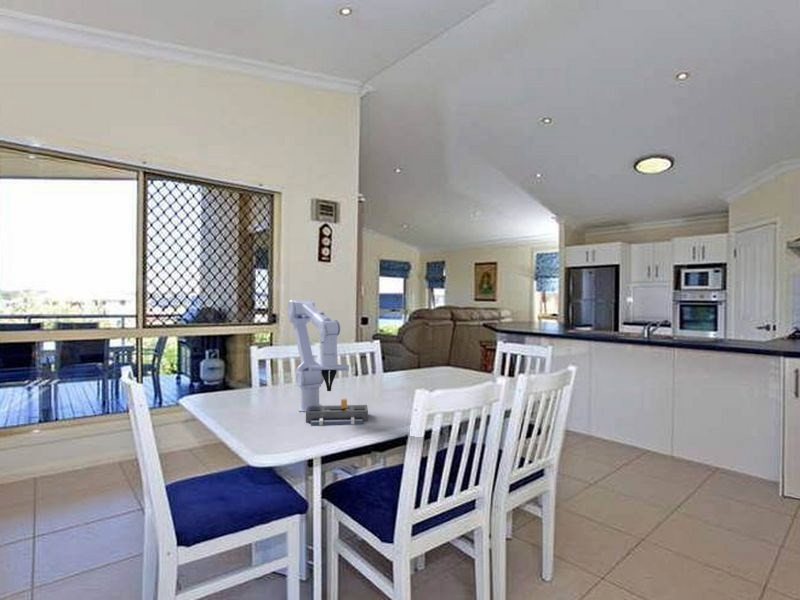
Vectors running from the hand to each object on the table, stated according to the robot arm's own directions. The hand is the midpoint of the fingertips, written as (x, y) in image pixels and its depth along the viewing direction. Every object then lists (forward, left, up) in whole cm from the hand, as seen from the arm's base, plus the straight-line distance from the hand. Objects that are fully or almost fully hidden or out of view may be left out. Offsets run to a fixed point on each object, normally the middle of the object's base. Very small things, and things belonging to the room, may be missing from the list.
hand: (329, 390), depth 173 cm
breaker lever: (0, +5, -6) cm, 8 cm away
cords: (+6, +3, -10) cm, 12 cm away
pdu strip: (0, +3, -10) cm, 11 cm away
